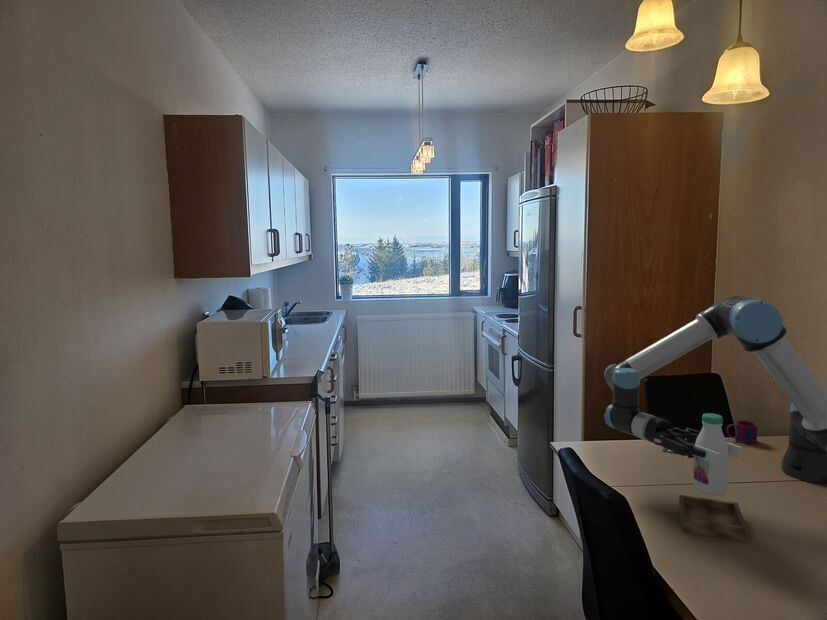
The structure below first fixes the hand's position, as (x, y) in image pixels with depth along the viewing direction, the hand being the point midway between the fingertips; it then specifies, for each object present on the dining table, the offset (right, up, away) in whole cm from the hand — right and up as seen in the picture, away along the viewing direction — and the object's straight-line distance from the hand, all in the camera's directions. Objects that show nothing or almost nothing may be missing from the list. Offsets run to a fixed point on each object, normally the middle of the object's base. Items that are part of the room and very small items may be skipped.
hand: (730, 455), depth 129 cm
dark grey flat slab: (+22, -15, +55) cm, 61 cm away
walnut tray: (-1, -20, +6) cm, 21 cm away
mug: (+42, -12, +62) cm, 76 cm away
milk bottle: (-2, -11, +6) cm, 12 cm away
